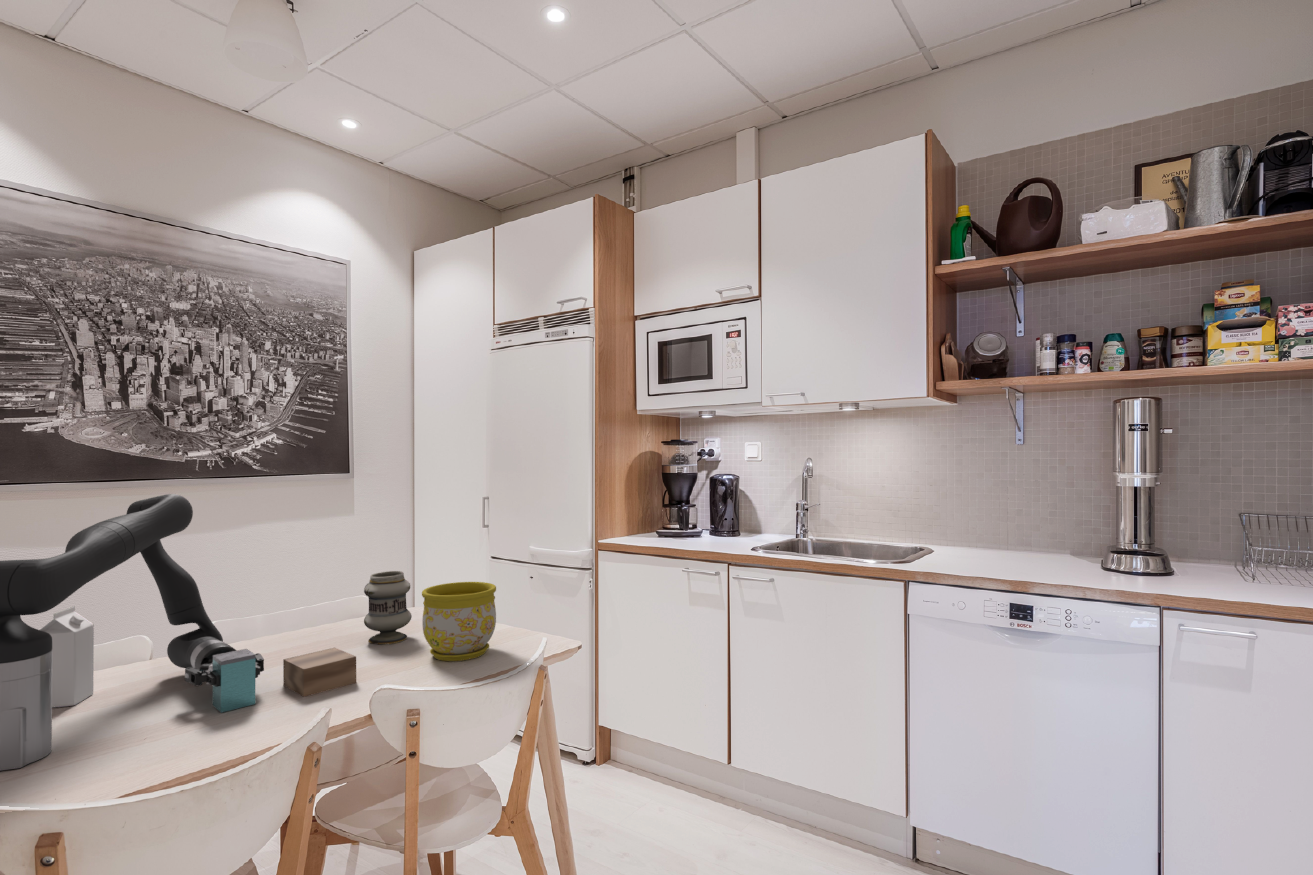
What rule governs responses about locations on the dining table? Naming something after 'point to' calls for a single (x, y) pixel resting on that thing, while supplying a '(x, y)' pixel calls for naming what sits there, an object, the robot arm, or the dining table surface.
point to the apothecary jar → (387, 606)
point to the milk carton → (71, 657)
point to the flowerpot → (459, 619)
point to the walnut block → (319, 671)
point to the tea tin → (234, 680)
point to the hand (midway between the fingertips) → (237, 676)
